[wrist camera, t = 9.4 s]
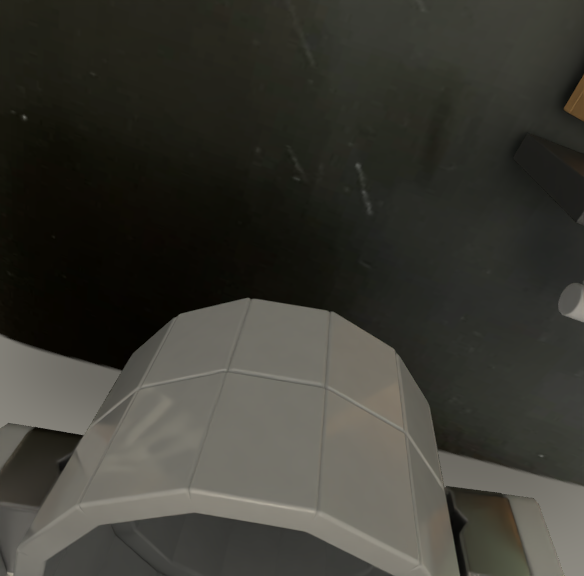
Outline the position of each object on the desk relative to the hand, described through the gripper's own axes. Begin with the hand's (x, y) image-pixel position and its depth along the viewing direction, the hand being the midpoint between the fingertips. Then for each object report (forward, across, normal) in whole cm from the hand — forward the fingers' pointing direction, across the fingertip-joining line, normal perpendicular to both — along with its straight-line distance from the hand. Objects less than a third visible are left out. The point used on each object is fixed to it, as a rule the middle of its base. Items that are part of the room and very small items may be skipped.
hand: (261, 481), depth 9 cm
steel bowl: (+2, 0, 0) cm, 2 cm away
